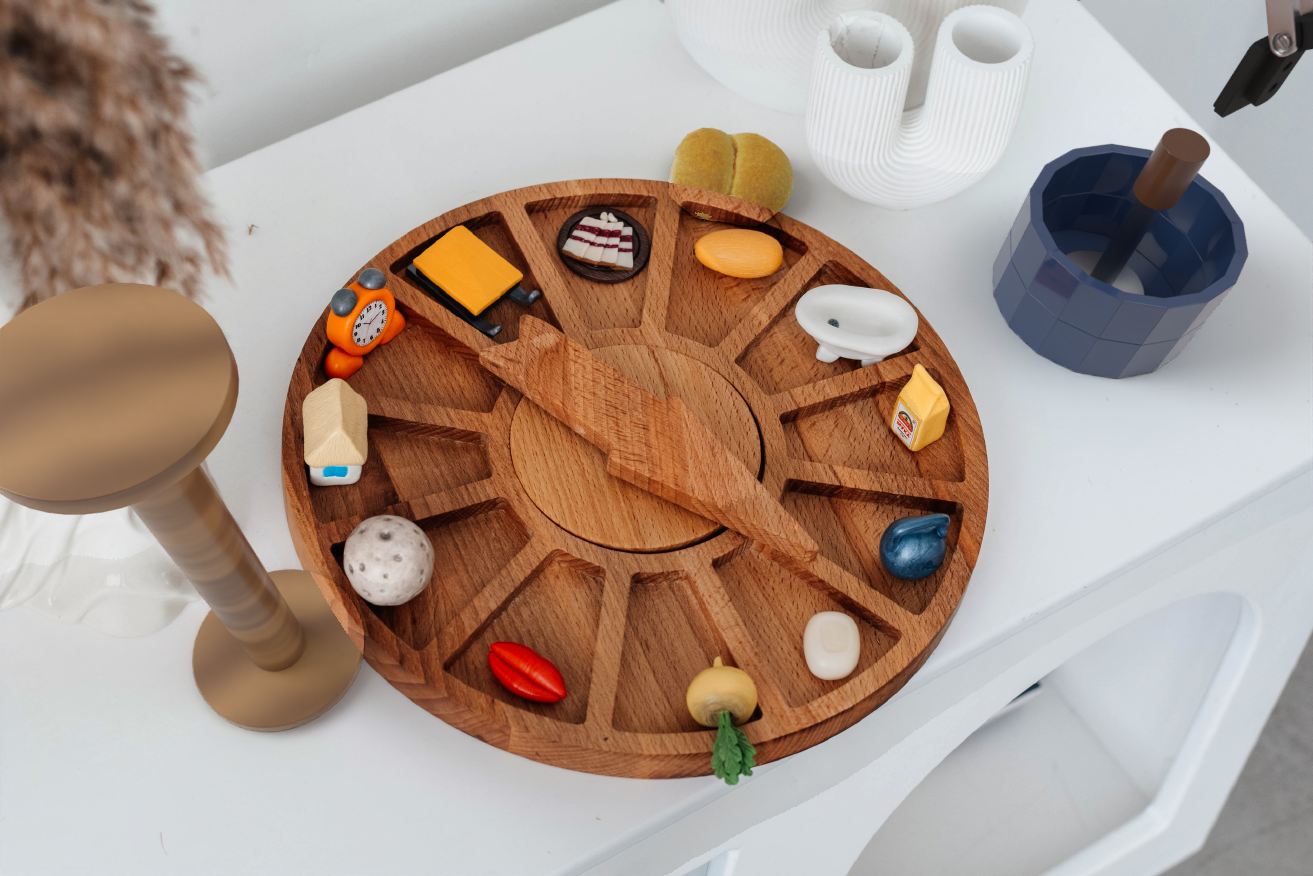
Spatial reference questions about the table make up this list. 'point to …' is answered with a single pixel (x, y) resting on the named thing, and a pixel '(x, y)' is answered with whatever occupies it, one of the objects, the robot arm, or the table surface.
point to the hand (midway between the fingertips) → (1162, 45)
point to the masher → (1147, 206)
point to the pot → (1166, 260)
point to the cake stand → (165, 483)
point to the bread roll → (734, 167)
